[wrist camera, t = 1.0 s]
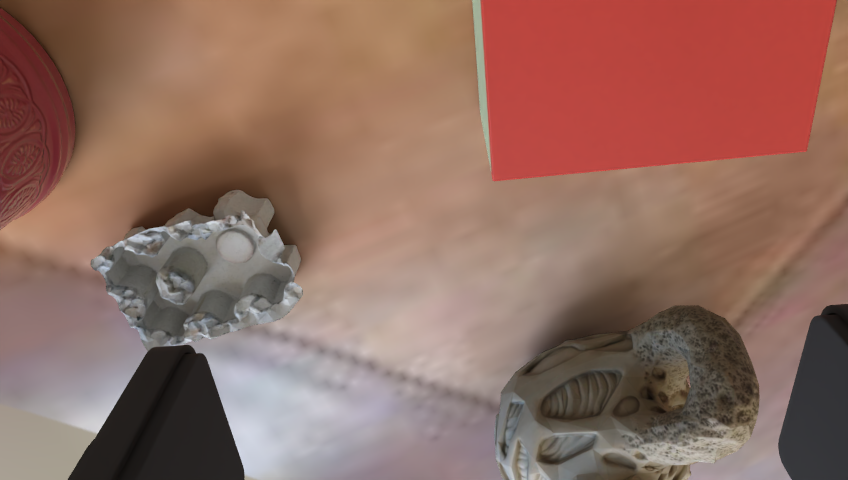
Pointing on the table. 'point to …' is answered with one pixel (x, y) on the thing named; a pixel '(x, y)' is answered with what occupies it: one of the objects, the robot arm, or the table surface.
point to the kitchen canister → (30, 122)
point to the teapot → (630, 403)
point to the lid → (648, 81)
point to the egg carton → (203, 273)
